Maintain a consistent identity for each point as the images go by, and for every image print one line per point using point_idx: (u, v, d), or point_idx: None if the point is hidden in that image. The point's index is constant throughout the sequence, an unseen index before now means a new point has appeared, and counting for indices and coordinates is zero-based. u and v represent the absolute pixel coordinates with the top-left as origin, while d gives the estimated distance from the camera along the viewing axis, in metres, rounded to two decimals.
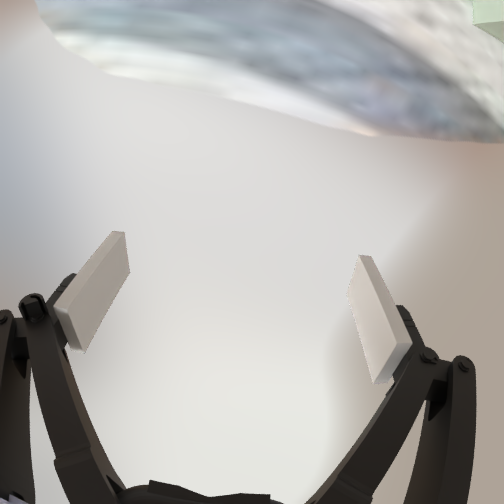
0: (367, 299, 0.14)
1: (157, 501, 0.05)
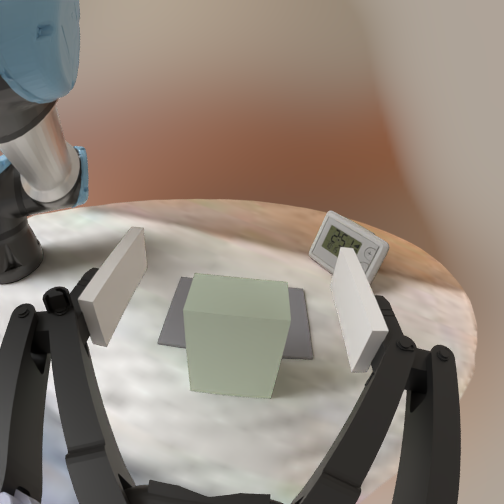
0: (347, 289, 0.15)
1: (157, 501, 0.05)
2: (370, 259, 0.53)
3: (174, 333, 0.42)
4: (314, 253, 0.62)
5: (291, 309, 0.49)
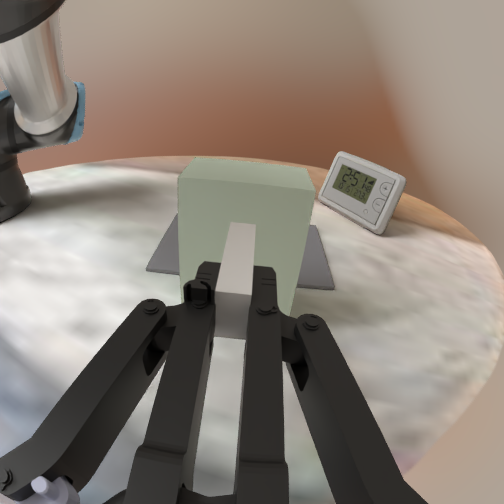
0: None
1: None
2: (386, 194, 0.46)
3: (167, 259, 0.36)
4: (324, 195, 0.56)
5: None
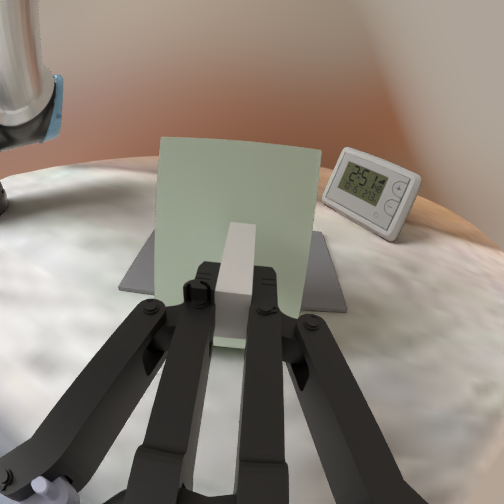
0: None
1: None
2: (400, 195, 0.40)
3: (144, 276, 0.29)
4: (329, 197, 0.50)
5: (309, 252, 0.36)
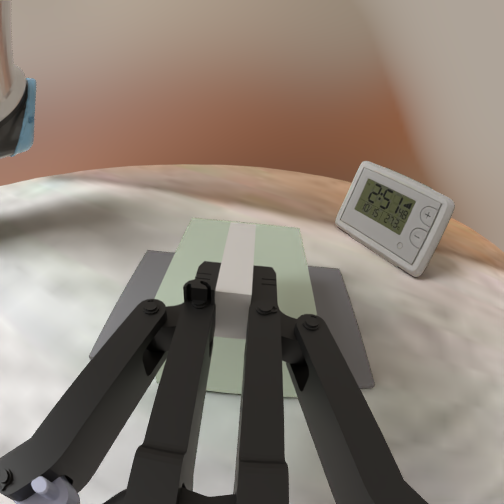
0: None
1: None
2: (429, 223, 0.32)
3: None
4: (344, 220, 0.42)
5: (326, 300, 0.29)
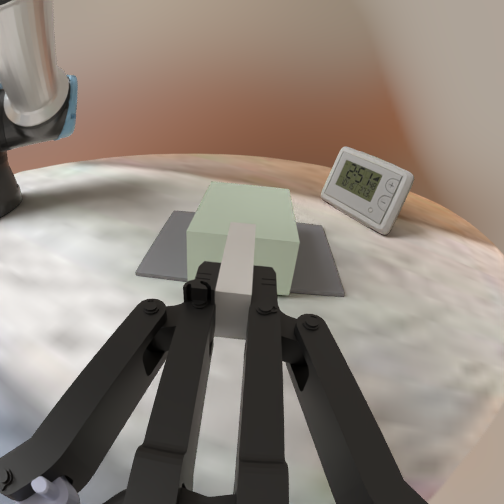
0: None
1: None
2: (393, 191, 0.43)
3: (159, 263, 0.32)
4: (327, 193, 0.53)
5: (310, 243, 0.39)
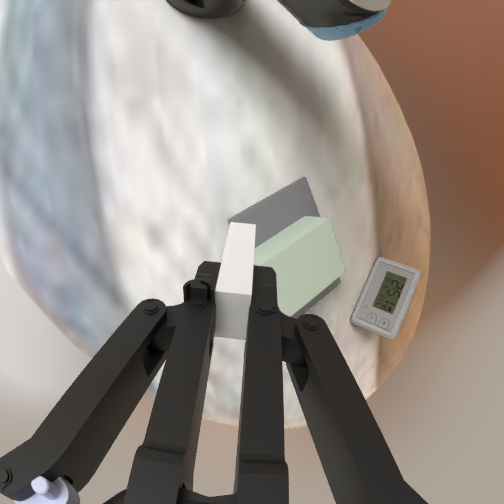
0: None
1: None
2: (379, 325, 0.57)
3: None
4: (379, 264, 0.62)
5: None
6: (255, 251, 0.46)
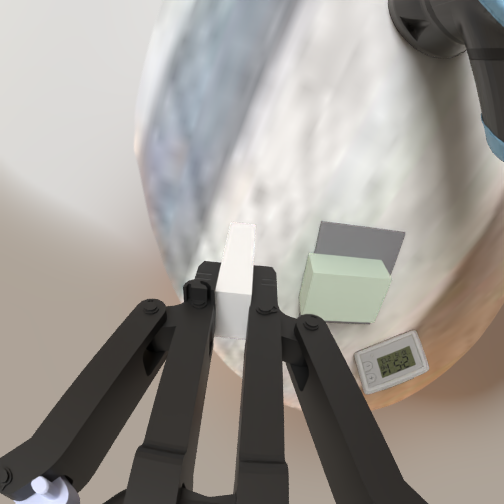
0: None
1: None
2: (367, 375, 0.60)
3: (331, 234, 0.50)
4: (409, 336, 0.61)
5: None
6: (323, 257, 0.52)
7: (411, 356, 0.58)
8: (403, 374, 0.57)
